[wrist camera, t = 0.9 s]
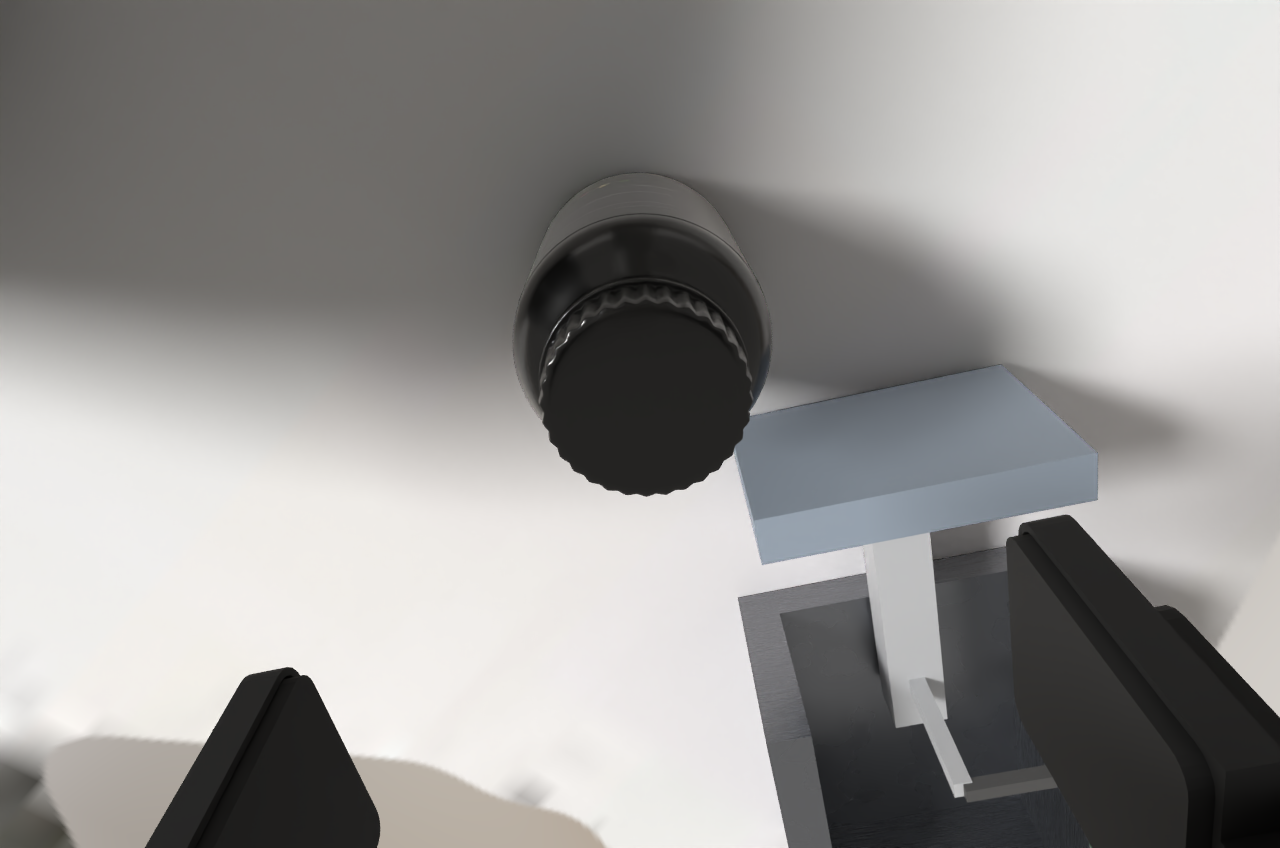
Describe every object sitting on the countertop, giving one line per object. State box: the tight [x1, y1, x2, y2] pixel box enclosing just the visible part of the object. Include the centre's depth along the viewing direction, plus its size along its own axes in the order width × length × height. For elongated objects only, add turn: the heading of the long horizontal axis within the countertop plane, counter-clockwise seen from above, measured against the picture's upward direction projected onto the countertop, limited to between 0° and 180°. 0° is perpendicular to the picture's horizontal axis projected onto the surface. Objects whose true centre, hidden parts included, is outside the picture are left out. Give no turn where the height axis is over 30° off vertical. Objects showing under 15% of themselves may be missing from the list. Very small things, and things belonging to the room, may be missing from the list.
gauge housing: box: [738, 547, 1092, 848], centre depth 35 cm, size 14×12×8 cm
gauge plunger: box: [734, 364, 1098, 803], centre depth 30 cm, size 13×12×9 cm
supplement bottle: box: [513, 173, 772, 497], centre depth 25 cm, size 7×7×12 cm
